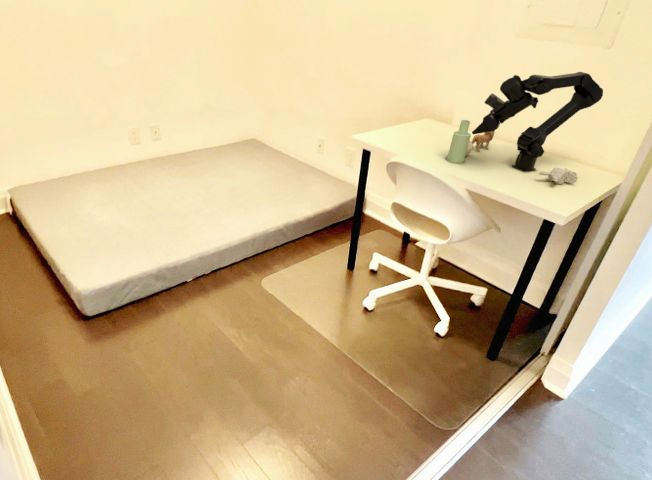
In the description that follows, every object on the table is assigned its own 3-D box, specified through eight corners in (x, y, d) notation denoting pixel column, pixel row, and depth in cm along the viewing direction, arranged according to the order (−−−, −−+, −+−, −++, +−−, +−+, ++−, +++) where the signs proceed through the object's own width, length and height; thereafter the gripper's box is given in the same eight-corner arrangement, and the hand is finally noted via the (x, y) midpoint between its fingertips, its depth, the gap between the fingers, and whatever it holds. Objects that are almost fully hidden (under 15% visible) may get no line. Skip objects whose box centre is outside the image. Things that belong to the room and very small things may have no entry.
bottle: (465, 163, 176) (476, 123, 167) (449, 162, 177) (459, 122, 167) (461, 157, 182) (471, 119, 173) (445, 157, 182) (455, 118, 173)
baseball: (474, 156, 184) (479, 141, 180) (462, 158, 181) (466, 143, 177) (462, 151, 189) (466, 136, 185) (450, 153, 186) (454, 138, 182)
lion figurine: (482, 144, 198) (487, 124, 193) (492, 147, 195) (499, 127, 189) (464, 150, 190) (470, 129, 185) (475, 154, 187) (481, 133, 182)
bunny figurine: (586, 173, 160) (561, 174, 154) (579, 186, 163) (555, 187, 157) (563, 164, 167) (539, 165, 161) (557, 177, 170) (533, 178, 164)
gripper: (507, 83, 164) (470, 108, 175) (498, 91, 151) (458, 118, 162) (522, 108, 166) (484, 131, 177) (514, 118, 153) (473, 143, 164)
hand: (475, 130), depth 170 cm, fingers open, 9 cm apart
